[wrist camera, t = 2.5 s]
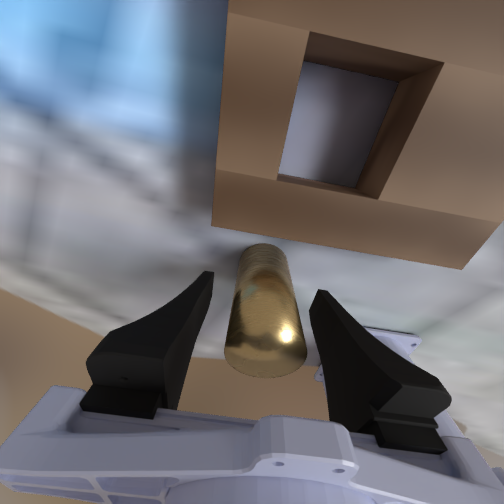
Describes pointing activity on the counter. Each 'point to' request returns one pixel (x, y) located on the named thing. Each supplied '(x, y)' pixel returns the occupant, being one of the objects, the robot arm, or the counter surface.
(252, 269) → the brass cylinder
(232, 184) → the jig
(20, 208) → the counter surface
